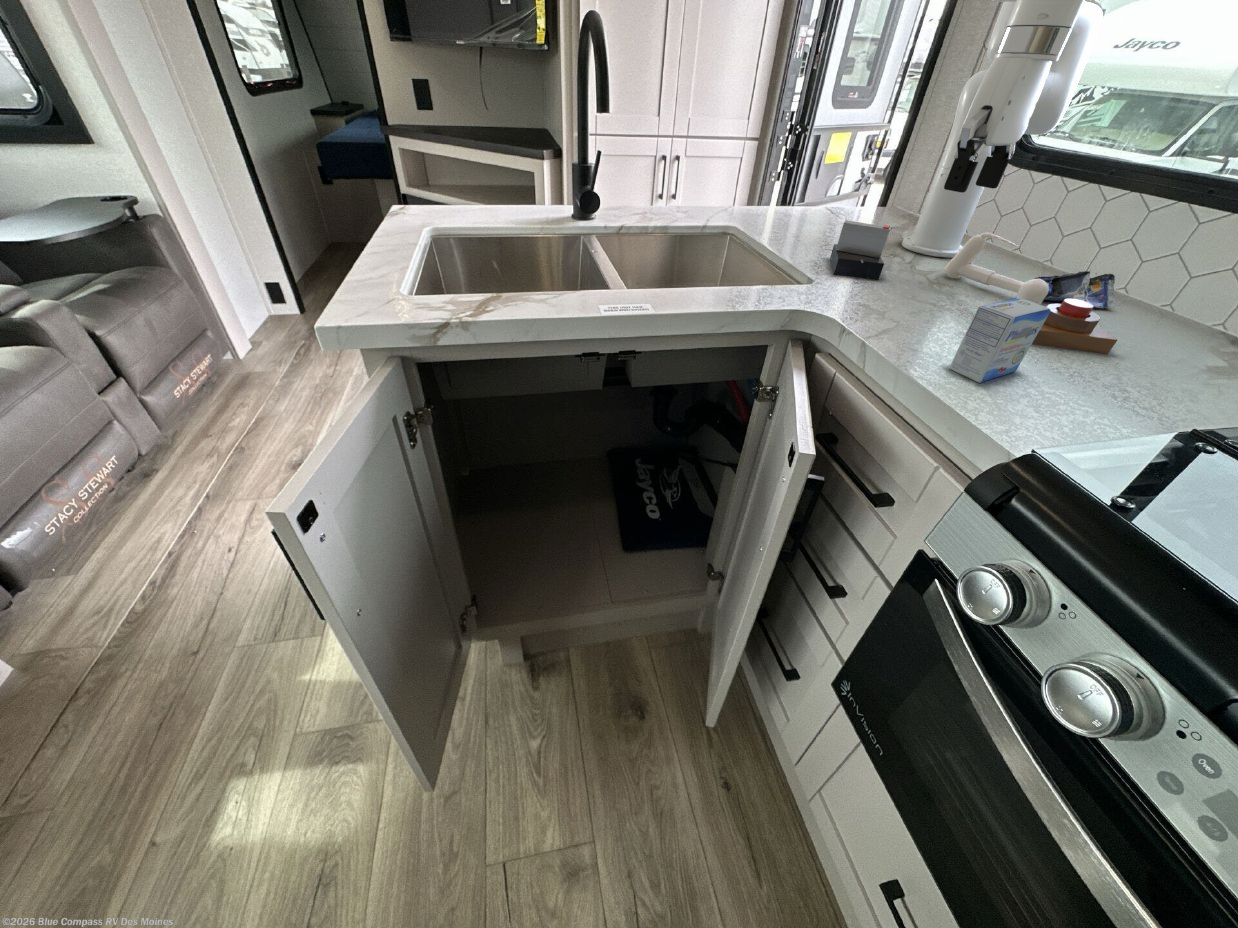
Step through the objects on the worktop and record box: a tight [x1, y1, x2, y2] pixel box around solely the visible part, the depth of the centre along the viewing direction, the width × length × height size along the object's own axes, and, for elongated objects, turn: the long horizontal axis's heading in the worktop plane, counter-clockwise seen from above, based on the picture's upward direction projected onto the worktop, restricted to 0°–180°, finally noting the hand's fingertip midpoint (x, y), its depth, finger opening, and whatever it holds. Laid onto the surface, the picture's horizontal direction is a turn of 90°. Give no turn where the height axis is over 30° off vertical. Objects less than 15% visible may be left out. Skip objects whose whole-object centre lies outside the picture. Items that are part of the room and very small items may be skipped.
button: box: [1058, 299, 1094, 318], centre depth 74 cm, size 4×4×2 cm
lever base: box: [824, 243, 893, 281], centre depth 98 cm, size 12×12×3 cm
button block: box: [1031, 303, 1118, 355], centre depth 75 cm, size 8×10×4 cm
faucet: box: [943, 232, 1049, 305], centre depth 90 cm, size 4×18×10 cm, turn 25°
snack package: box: [1034, 270, 1116, 310], centre depth 89 cm, size 12×6×12 cm
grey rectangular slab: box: [836, 219, 892, 258], centre depth 95 cm, size 8×2×5 cm, turn 61°
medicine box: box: [948, 298, 1051, 384], centre depth 64 cm, size 8×4×9 cm, turn 117°
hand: (970, 188), depth 79 cm, fingers open, 9 cm apart
